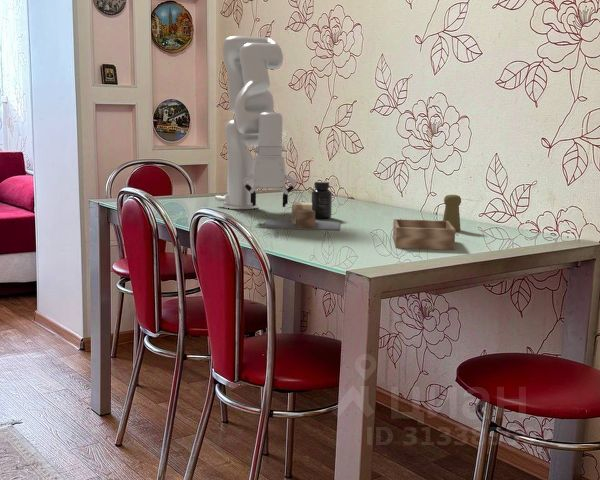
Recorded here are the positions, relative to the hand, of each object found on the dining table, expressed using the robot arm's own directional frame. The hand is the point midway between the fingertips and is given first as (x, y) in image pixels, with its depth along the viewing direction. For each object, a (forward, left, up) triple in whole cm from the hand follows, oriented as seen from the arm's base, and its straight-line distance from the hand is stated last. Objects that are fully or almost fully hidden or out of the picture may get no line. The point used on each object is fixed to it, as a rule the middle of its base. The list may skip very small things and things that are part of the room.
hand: (269, 205), depth 248 cm
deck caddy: (+46, -30, -5) cm, 55 cm away
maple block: (+8, 0, -2) cm, 8 cm away
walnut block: (+12, -9, -5) cm, 16 cm away
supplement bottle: (+16, +13, -5) cm, 21 cm away
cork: (+57, -4, -5) cm, 58 cm away
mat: (+11, -4, -5) cm, 13 cm away
